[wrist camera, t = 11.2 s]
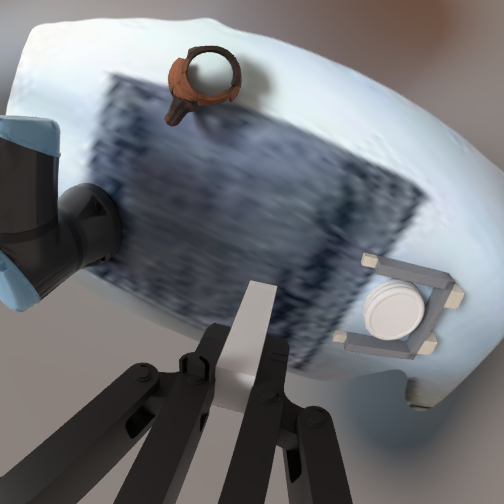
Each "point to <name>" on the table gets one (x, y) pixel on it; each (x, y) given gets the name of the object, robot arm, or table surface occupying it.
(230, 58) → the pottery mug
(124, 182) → the table surface
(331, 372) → the table surface
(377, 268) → the grey u-shaped frame
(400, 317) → the white round disc
